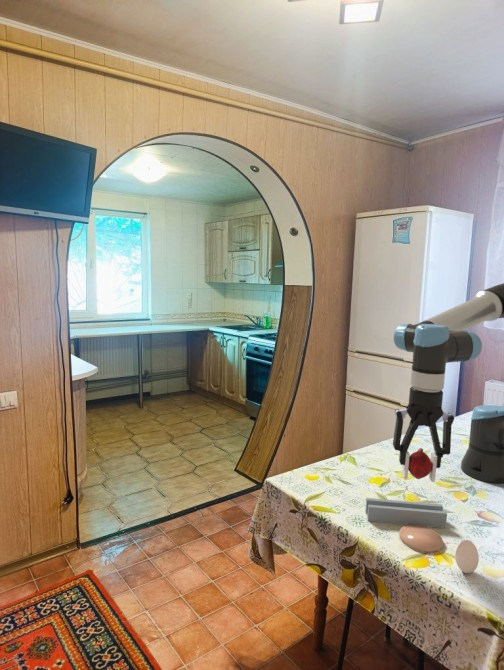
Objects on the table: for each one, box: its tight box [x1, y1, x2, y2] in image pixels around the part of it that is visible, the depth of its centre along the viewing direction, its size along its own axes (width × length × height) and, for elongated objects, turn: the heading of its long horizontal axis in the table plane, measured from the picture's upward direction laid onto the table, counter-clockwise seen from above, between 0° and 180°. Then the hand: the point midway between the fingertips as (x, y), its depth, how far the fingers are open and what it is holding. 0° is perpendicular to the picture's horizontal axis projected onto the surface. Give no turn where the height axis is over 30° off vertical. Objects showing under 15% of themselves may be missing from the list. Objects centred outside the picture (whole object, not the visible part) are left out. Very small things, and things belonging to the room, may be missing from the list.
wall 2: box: [366, 505, 448, 529], centre depth 114 cm, size 20×1×4 cm, turn 83°
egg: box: [454, 539, 480, 574], centre depth 96 cm, size 5×5×7 cm
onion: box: [408, 447, 432, 480], centre depth 107 cm, size 6×6×8 cm
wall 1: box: [365, 497, 444, 515], centre depth 118 cm, size 20×1×4 cm, turn 83°
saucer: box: [399, 524, 444, 554], centre depth 108 cm, size 10×10×1 cm
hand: (418, 477), depth 108 cm, fingers closed on onion, 6 cm apart
